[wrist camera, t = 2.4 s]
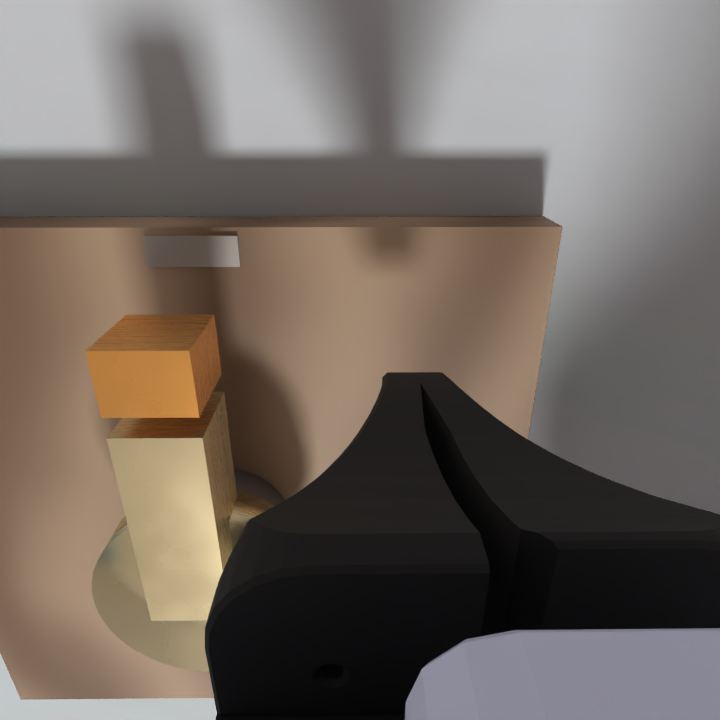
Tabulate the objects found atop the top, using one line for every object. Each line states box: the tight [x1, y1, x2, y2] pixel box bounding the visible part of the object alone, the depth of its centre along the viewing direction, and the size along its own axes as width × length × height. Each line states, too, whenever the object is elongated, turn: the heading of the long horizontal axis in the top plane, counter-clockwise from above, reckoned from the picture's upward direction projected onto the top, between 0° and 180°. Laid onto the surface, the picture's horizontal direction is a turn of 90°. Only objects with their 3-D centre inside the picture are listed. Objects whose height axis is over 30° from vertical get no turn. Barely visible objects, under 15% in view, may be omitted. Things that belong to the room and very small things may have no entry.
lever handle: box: [85, 314, 274, 672], centre depth 13 cm, size 11×6×2 cm, turn 0°
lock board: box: [0, 216, 562, 699], centre depth 17 cm, size 19×19×4 cm
